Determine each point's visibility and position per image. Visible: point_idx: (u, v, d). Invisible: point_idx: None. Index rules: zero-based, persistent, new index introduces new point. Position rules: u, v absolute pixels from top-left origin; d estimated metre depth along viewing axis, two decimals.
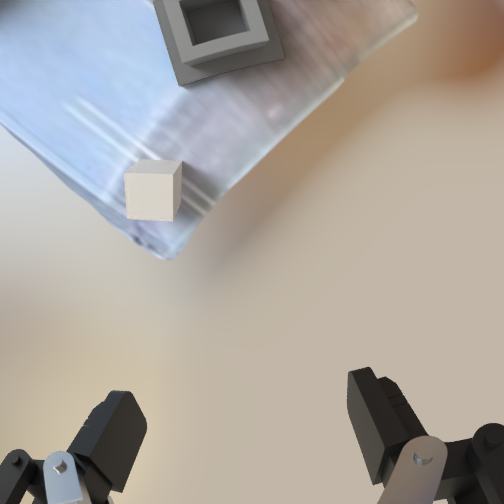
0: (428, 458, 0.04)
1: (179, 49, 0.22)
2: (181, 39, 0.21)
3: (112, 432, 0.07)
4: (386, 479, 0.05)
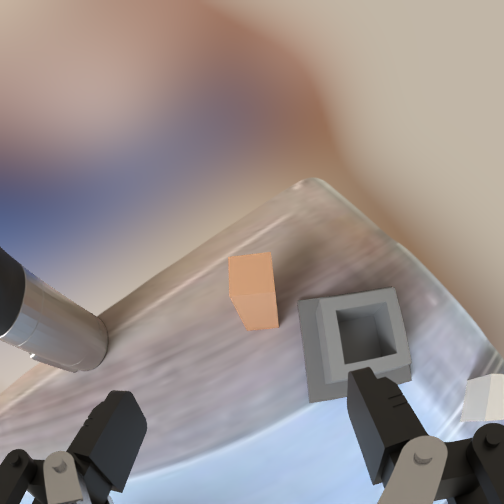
0: (428, 458, 0.04)
1: (398, 365, 0.25)
2: (388, 363, 0.25)
3: (113, 432, 0.07)
4: (386, 479, 0.05)
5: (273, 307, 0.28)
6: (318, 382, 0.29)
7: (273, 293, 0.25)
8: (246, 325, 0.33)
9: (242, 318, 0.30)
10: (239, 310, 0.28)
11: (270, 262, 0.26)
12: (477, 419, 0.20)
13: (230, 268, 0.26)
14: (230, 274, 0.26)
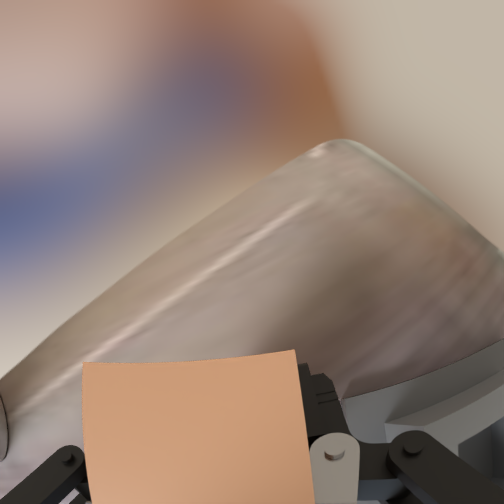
0: (337, 455, 0.05)
1: None
2: None
3: None
4: None
5: None
6: None
7: None
8: None
9: None
10: None
11: (296, 417, 0.04)
12: None
13: (89, 423, 0.04)
14: (91, 453, 0.03)
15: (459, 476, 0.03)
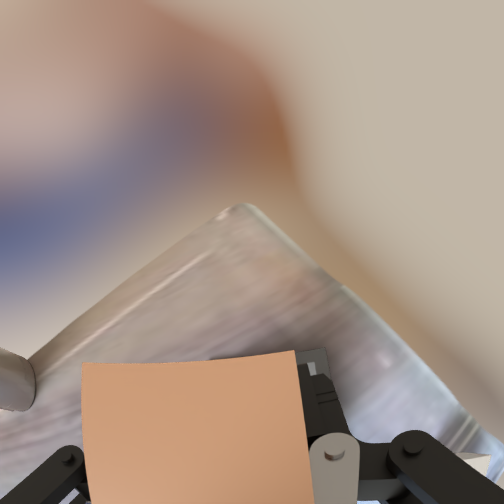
0: (337, 455, 0.05)
1: None
2: None
3: None
4: None
5: None
6: None
7: None
8: None
9: None
10: None
11: (295, 418, 0.04)
12: None
13: (89, 424, 0.04)
14: (90, 453, 0.03)
15: (459, 476, 0.03)
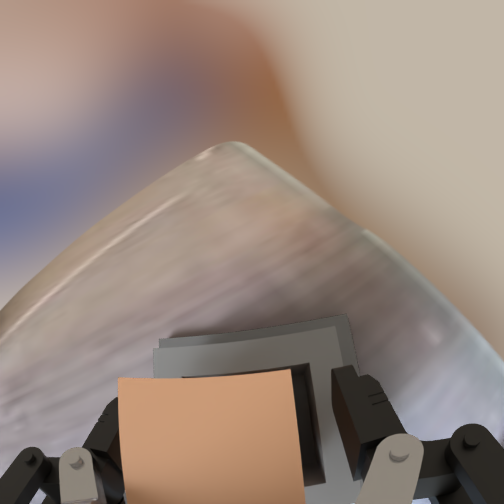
0: (403, 456, 0.04)
1: None
2: None
3: None
4: (365, 475, 0.05)
5: None
6: None
7: None
8: None
9: None
10: None
11: (290, 420, 0.05)
12: None
13: (125, 427, 0.05)
14: (126, 451, 0.05)
15: None
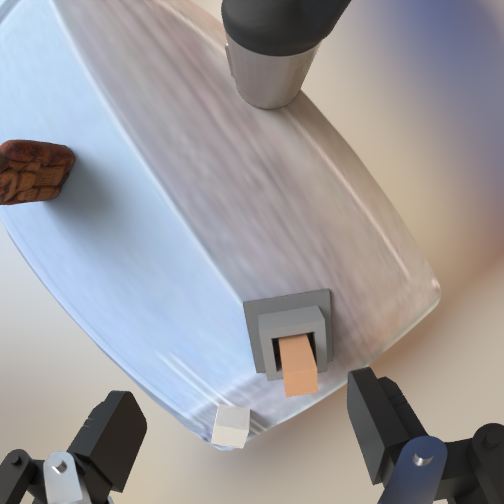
0: (428, 458, 0.04)
1: (267, 372, 0.38)
2: (269, 366, 0.38)
3: (113, 432, 0.07)
4: (386, 479, 0.05)
5: None
6: (260, 309, 0.41)
7: None
8: None
9: (279, 345, 0.37)
10: None
11: (309, 392, 0.31)
12: (217, 418, 0.43)
13: (306, 370, 0.30)
14: (301, 371, 0.30)
15: None
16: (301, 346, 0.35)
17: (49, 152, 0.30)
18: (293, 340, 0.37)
